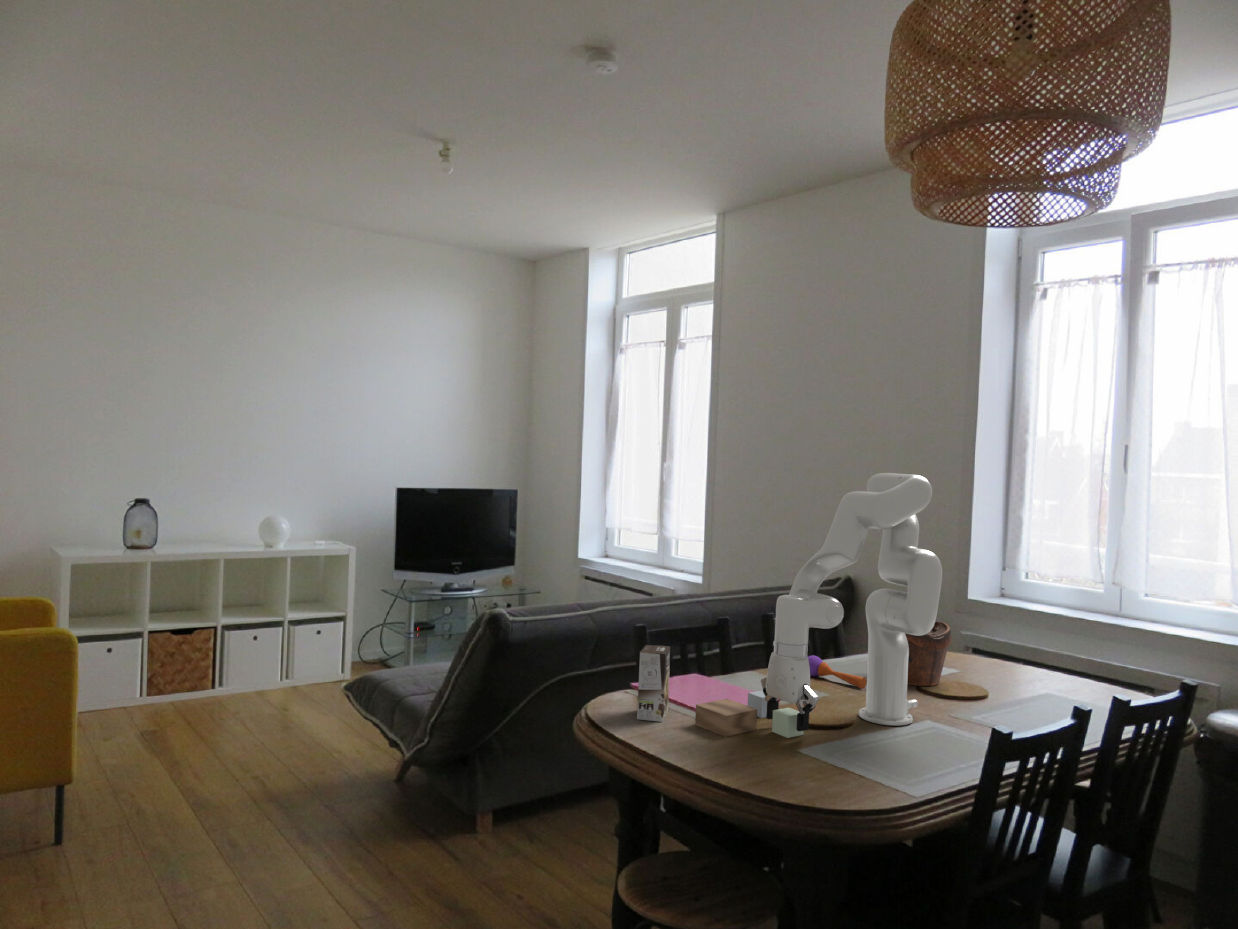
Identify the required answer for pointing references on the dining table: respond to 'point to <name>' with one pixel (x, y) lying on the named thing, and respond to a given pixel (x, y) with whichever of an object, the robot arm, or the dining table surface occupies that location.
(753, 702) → the slate block
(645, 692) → the coffee box
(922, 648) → the brown plant pot
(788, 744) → the dining table surface
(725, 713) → the walnut base block
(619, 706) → the dining table surface
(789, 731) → the sage block
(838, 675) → the purple and orange maraca
